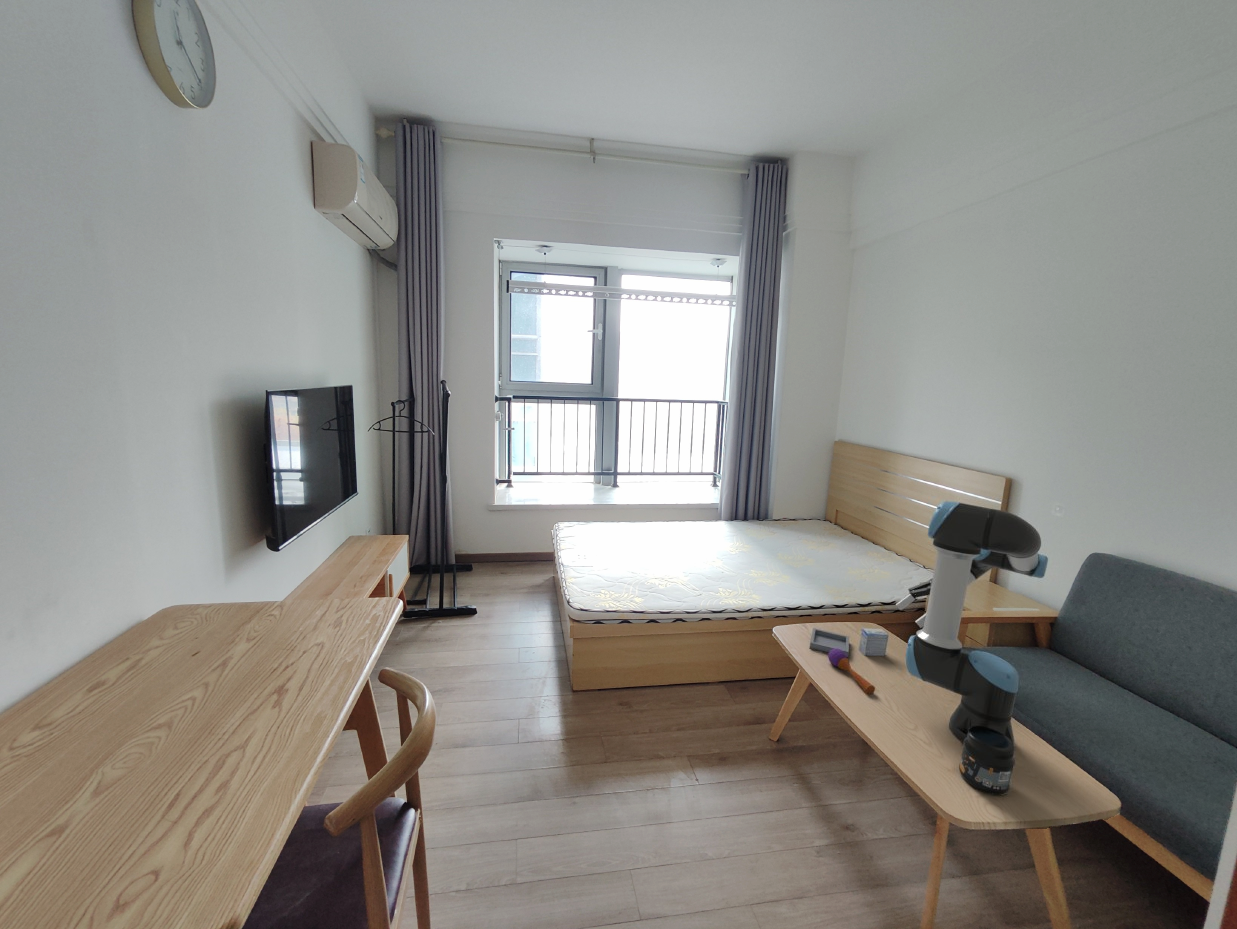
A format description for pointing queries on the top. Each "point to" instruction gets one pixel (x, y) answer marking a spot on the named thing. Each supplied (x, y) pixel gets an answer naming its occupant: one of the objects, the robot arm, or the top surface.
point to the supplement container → (987, 760)
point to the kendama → (849, 668)
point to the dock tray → (828, 641)
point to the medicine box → (873, 642)
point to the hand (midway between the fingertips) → (907, 615)
